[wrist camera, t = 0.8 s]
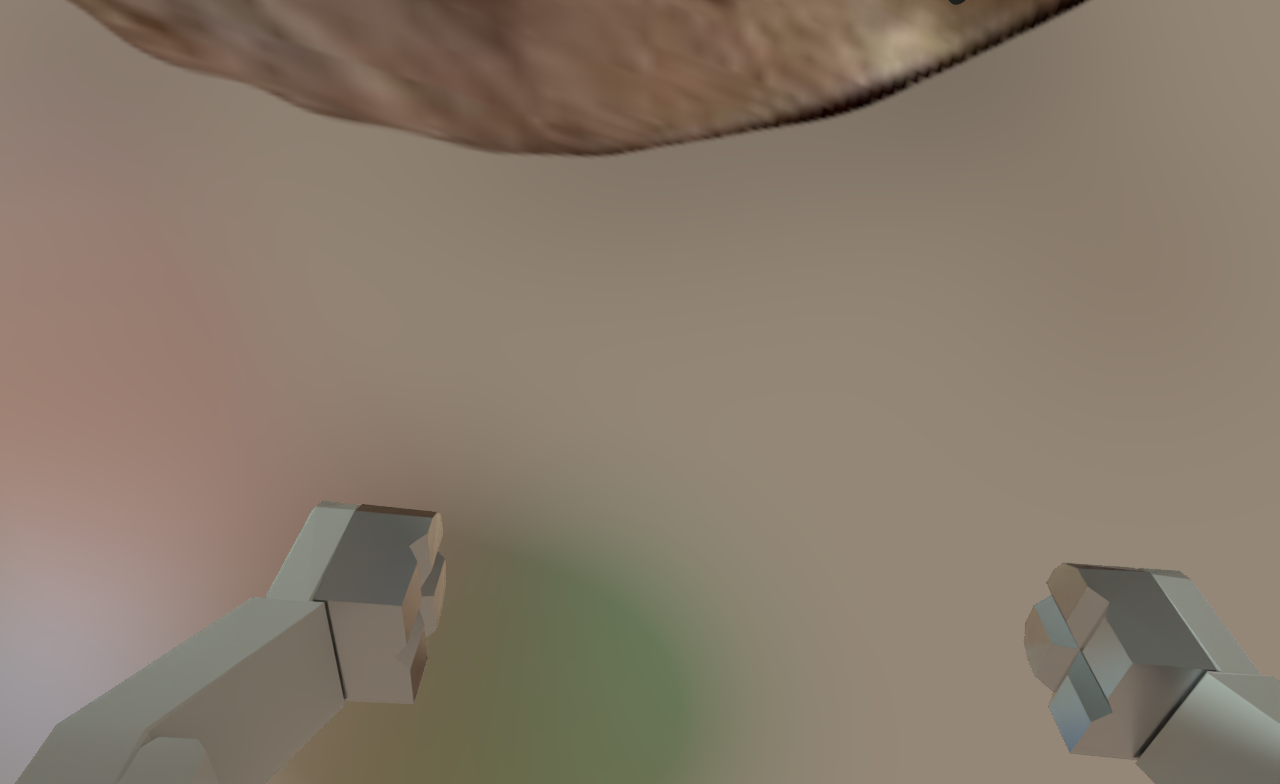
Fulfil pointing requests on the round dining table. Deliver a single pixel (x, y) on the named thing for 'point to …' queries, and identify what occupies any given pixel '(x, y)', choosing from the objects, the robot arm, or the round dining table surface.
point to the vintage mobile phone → (956, 1)
